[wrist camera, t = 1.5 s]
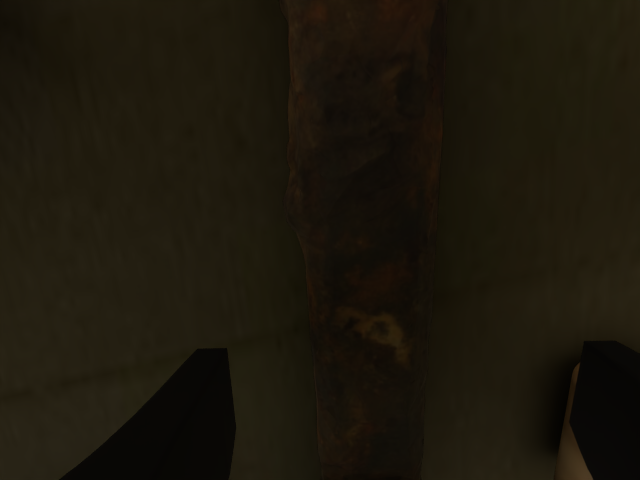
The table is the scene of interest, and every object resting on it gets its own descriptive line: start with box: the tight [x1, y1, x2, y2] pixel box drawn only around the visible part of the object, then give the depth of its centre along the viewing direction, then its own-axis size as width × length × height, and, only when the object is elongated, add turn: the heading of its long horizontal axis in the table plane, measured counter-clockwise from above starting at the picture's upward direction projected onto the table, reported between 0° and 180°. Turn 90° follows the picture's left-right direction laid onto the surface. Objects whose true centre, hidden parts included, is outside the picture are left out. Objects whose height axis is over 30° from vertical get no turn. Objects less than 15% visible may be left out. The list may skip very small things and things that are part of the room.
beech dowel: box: [554, 363, 593, 480], centre depth 16 cm, size 3×4×3 cm
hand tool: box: [279, 0, 448, 480], centre depth 13 cm, size 19×4×5 cm, turn 0°
